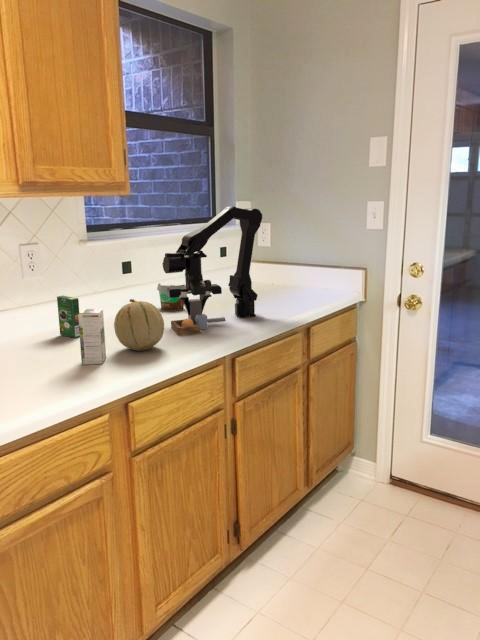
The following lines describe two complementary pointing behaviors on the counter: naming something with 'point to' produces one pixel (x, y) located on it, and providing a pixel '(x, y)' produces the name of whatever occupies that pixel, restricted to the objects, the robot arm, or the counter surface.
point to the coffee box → (68, 316)
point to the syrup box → (92, 336)
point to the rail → (213, 319)
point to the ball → (187, 322)
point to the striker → (197, 313)
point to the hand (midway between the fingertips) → (195, 314)
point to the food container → (167, 302)
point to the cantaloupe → (139, 325)
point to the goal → (184, 328)
